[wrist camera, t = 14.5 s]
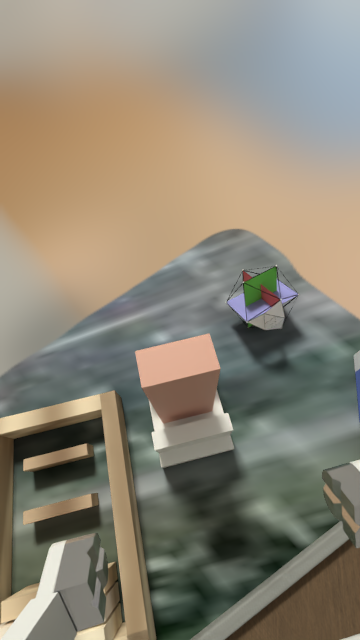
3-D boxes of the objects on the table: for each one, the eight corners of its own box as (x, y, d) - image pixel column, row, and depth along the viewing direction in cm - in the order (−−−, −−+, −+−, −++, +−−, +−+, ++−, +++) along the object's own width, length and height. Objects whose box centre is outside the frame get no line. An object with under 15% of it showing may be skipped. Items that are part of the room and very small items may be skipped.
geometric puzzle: (210, 282, 37) (238, 280, 30) (258, 259, 38) (297, 251, 31) (232, 335, 39) (265, 347, 31) (278, 311, 40) (320, 316, 32)
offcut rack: (-11, 687, 24) (-58, 734, 19) (-1, 427, 33) (-32, 419, 28) (156, 638, 25) (146, 672, 20) (121, 397, 34) (109, 384, 29)
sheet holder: (163, 468, 30) (157, 465, 26) (144, 371, 35) (137, 357, 31) (232, 449, 31) (237, 444, 27) (205, 356, 35) (206, 340, 31)
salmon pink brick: (163, 423, 31) (141, 387, 19) (158, 398, 32) (135, 351, 20) (212, 411, 31) (220, 368, 19) (205, 387, 32) (209, 333, 21)
